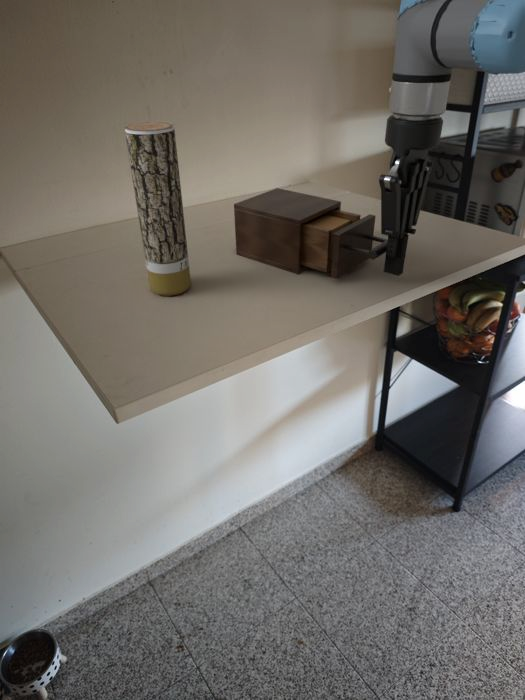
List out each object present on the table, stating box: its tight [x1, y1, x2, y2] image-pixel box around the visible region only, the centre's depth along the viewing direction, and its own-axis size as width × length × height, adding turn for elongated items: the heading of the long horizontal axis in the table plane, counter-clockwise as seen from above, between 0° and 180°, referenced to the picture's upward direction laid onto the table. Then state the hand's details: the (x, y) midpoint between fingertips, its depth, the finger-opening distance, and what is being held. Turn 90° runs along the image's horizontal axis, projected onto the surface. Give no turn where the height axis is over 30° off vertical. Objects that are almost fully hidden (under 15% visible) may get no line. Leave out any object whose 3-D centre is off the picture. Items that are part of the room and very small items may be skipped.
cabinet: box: [233, 187, 342, 275], centre depth 92 cm, size 15×13×10 cm
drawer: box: [301, 209, 388, 280], centre depth 86 cm, size 19×11×8 cm, turn 51°
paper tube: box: [124, 121, 192, 297], centre depth 76 cm, size 7×7×25 cm
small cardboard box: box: [308, 215, 350, 260], centre depth 87 cm, size 8×5×6 cm, turn 141°
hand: (393, 272), depth 82 cm, fingers closed
